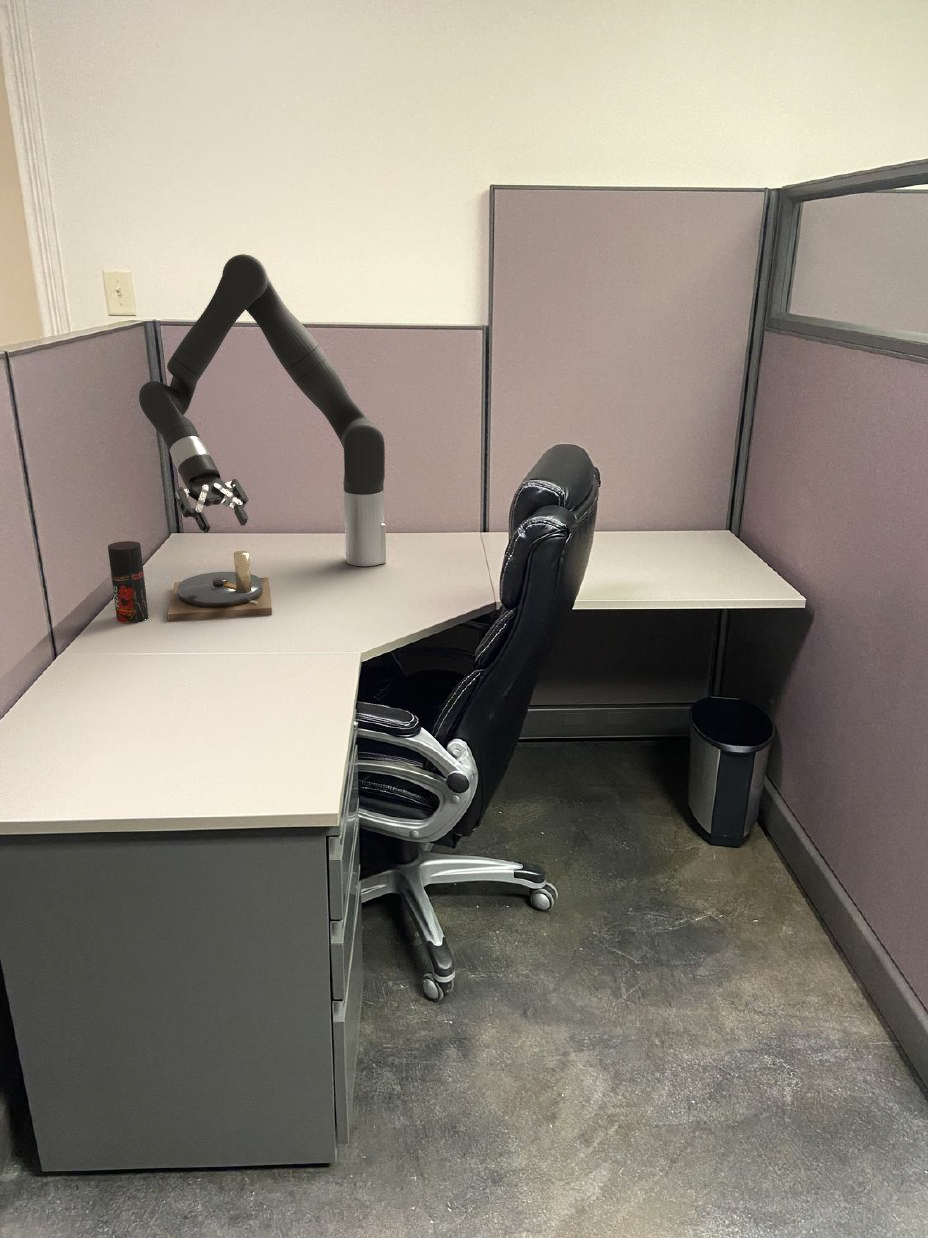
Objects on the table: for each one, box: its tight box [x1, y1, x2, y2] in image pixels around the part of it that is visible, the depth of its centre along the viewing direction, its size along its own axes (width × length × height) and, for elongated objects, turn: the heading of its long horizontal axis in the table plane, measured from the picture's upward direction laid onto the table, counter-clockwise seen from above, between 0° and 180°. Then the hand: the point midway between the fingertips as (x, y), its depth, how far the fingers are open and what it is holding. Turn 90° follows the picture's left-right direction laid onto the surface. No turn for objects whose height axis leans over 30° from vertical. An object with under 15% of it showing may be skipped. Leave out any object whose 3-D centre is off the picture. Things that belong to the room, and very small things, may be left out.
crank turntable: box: [178, 550, 263, 607], centre depth 189 cm, size 17×17×10 cm
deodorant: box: [107, 540, 149, 625], centre depth 179 cm, size 6×6×15 cm
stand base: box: [167, 576, 273, 622], centre depth 191 cm, size 20×20×2 cm
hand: (226, 526), depth 189 cm, fingers open, 8 cm apart
